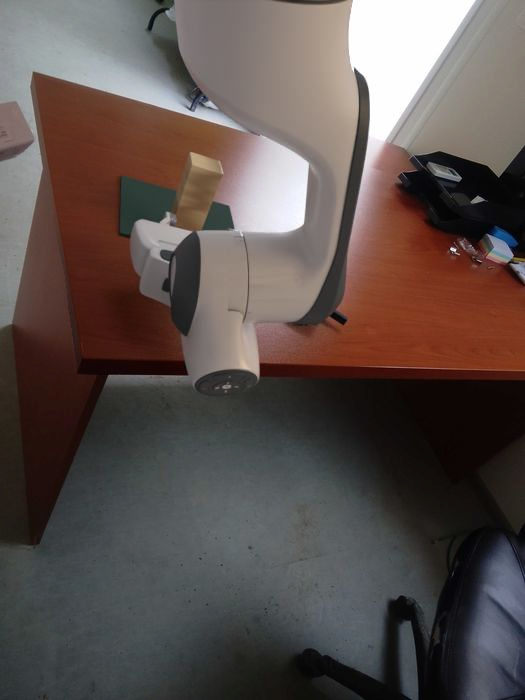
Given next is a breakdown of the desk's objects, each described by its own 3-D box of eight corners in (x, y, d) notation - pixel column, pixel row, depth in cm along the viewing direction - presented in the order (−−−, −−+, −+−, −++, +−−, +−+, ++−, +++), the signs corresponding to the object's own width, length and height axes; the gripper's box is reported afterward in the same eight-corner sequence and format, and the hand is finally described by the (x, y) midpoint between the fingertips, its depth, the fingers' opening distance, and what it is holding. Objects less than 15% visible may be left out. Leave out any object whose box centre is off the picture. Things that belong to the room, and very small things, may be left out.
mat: (119, 235, 75) (119, 232, 75) (120, 177, 86) (121, 174, 86) (241, 263, 84) (242, 261, 84) (228, 208, 96) (229, 205, 95)
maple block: (165, 243, 78) (191, 164, 68) (164, 229, 80) (189, 151, 71) (193, 249, 80) (223, 174, 70) (192, 236, 83) (220, 161, 73)
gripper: (291, 285, 62) (271, 224, 70) (137, 252, 53) (136, 187, 61) (271, 317, 66) (255, 256, 74) (126, 291, 57) (127, 225, 66)
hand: (200, 224), depth 68 cm, fingers open, 8 cm apart
